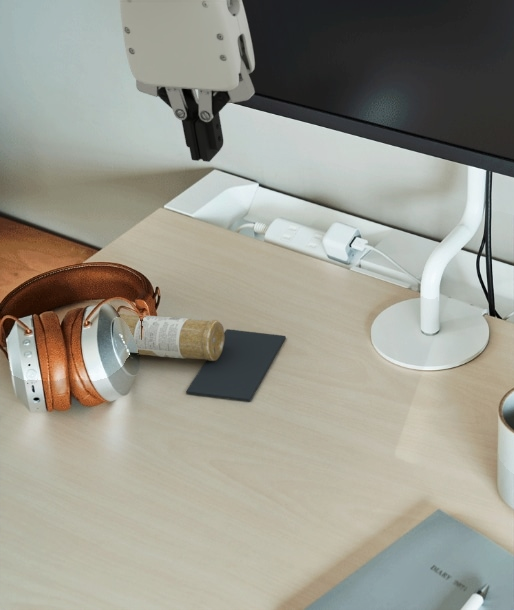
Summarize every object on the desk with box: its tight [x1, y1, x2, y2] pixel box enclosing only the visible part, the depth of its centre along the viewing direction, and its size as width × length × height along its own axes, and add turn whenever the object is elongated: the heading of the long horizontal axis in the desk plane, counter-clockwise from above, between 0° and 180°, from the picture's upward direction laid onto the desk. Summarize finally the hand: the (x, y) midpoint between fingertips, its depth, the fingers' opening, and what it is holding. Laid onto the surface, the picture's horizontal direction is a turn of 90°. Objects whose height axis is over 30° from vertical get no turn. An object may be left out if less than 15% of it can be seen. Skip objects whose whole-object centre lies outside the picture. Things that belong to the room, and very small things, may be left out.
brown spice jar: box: [118, 312, 225, 361], centre depth 100 cm, size 5×5×13 cm
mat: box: [185, 328, 286, 403], centre depth 100 cm, size 7×11×1 cm, turn 170°
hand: (207, 154), depth 86 cm, fingers closed
